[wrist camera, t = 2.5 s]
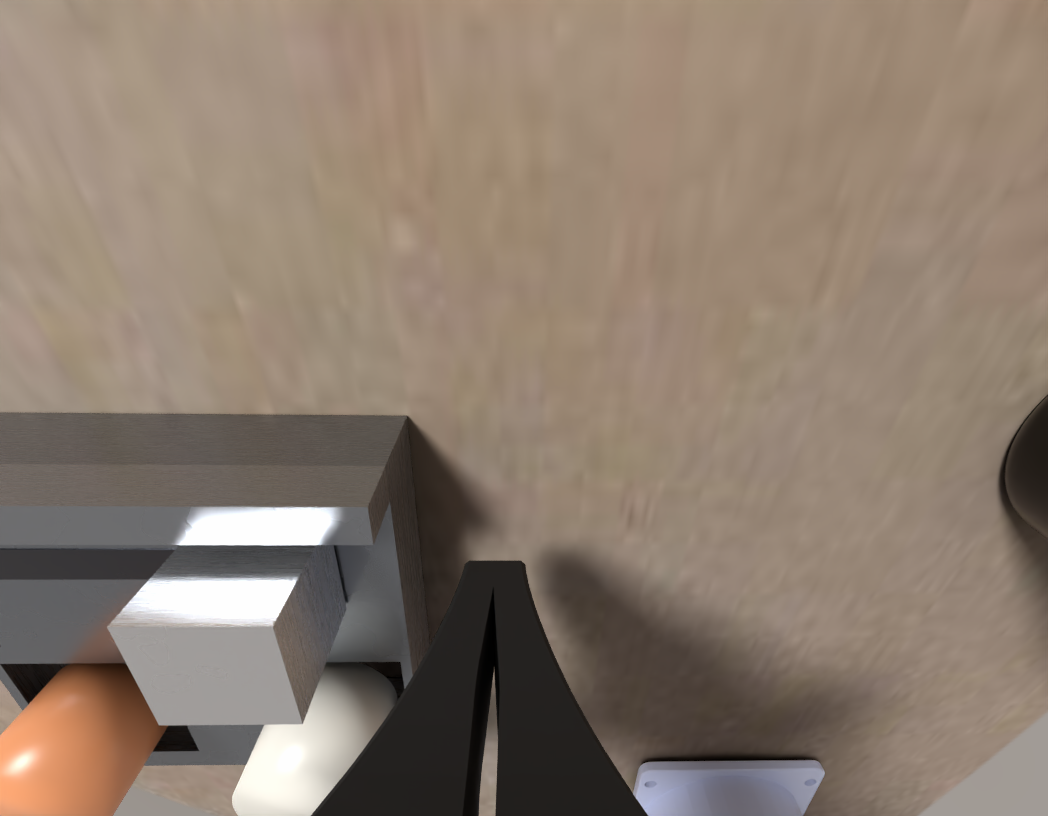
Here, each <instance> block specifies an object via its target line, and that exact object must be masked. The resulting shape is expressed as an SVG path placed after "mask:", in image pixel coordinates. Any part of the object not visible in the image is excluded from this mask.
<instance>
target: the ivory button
mask: <svg viewBox="0 0 1048 816" xmlns="http://www.w3.org/2000/svg"><path fill="white" fill-rule="evenodd" d="M396 702H397V693H396V690H395V688H394V686H393V685H392V683H391V682H390V681H389V680H388V679H387V678H386V677H385V676H384V675H383V674H381V673H380V672H378V671H377V670H375V669H373V668H371V667H369V666H366V665H364V664H361V663H358V662H326V664H325V667H324V670H323V672H322V675H321V678H320V680H319V683H318V685H317V688H316V691H315V693H314V696H313V699H312V701H311V704H310V707H309V709H308V712H307V714H306V717H305V720H304V722H303V724H279V725H264V726H263V729H262V731H261V733H260V735H259V738H258V740H257V742H256V744H255V747H254V749H253V751H252V753H251V755H250V758H249V760H248V762H247V764H246V767H245V769H244V771H243V773H242V776H241V778H240V780H239V782H238V784H237V787H236V789H235V791H234V793H233V797H232V804H233V807H234V810H235V811H236V813H237V814H238V815H239V816H311V815H312V813H313V812H314V811H315V810H316V809H317V807H318V806H319V805H320V804H321V802H322V801H323V800H324V799H325V798H326V796H327V795H328V794H329V793H330V791H331V790H332V789H333V788H334V786H335V785H336V784H337V783H338V782H339V780H340V779H341V778H342V777H343V775H344V774H345V773H346V772H347V770H348V769H349V768H350V767H351V765H352V764H353V763H354V761H355V760H356V759H357V757H358V756H359V755H360V753H361V752H362V751H363V749H364V748H365V747H366V745H367V744H368V742H369V741H370V740H371V738H372V737H373V735H374V734H375V733H376V731H377V730H378V728H379V727H380V726H381V724H382V723H383V721H384V720H385V719H386V717H387V716H388V714H389V713H390V711H391V710H392V708H393V707H394V705H395V704H396Z"/></svg>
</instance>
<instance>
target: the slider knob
mask: <svg viewBox="0 0 1048 816" xmlns="http://www.w3.org/2000/svg"><path fill="white" fill-rule="evenodd" d="M345 612H346V604H345V599H344V594H343V589H342V584H341V579H340V574H339V570H338V565H337V560H336V555H335V550H334V545H179V546H178V547H177V549H176V550H175V551H174V552H173V553H172V554H171V555H170V557H169V558H168V559H167V560H166V561H165V562H164V563H163V564H162V566H161V567H160V568H159V569H158V570H157V571H156V572H155V573H154V575H153V576H152V577H151V578H150V579H149V580H148V581H147V582H146V584H145V585H144V586H143V587H142V588H141V589H140V590H139V591H138V593H137V594H136V595H135V596H134V597H133V598H132V599H131V601H130V602H129V603H128V604H127V605H126V606H125V607H124V608H123V610H122V611H121V612H120V613H119V614H118V615H117V616H116V617H115V619H114V620H113V621H112V622H111V623H110V624H109V625H108V626H107V628H108V630H109V632H110V634H111V636H112V637H113V639H114V641H115V643H116V645H117V647H118V649H119V651H120V653H121V654H122V656H123V658H124V660H125V662H126V664H127V666H128V668H129V670H130V671H131V673H132V675H133V677H134V679H135V681H136V683H137V685H138V687H139V688H140V690H141V692H142V694H143V696H144V698H145V700H146V702H147V704H148V705H149V707H150V709H151V711H152V713H153V715H154V717H155V719H156V721H157V722H158V724H159V725H279V724H303V722H304V720H305V717H306V714H307V712H308V709H309V707H310V704H311V701H312V699H313V696H314V693H315V691H316V688H317V685H318V683H319V680H320V678H321V675H322V672H323V670H324V667H325V664H326V662H327V659H328V656H329V654H330V651H331V649H332V646H333V643H334V641H335V638H336V635H337V633H338V630H339V627H340V625H341V622H342V620H343V617H344V614H345Z"/></svg>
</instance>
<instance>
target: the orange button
mask: <svg viewBox="0 0 1048 816" xmlns="http://www.w3.org/2000/svg"><path fill="white" fill-rule="evenodd" d="M168 726H169V725H159V724H158V722H157V721H156V719H155V717H154V715H153V713H152V711H151V709H150V707H149V705H148V704H147V702H146V700H145V698H144V696H143V694H142V692H141V690H140V688H139V687H138V685H137V683H136V681H135V679H134V677H133V675H132V673H131V671H130V670H129V668H128V666H127V665H126V664H122V663H72V664H69V665H67V666H65V667H63V668H62V669H61V670H60V671H58V672H57V674H56V675H55V676H54V677H53V678H52V679H51V680H50V681H49V682H48V683H47V685H46V686H45V687H44V688H43V689H42V690H41V691H40V692H39V693H38V695H37V696H36V697H35V698H34V699H33V700H32V701H31V702H30V703H29V704H28V706H27V707H26V708H25V709H24V710H23V711H22V712H21V713H20V714H19V716H18V717H17V718H16V719H15V720H14V721H13V722H12V723H11V724H10V725H9V727H8V728H7V729H6V730H5V731H4V732H3V733H2V734H1V735H0V816H113V814H114V813H115V811H116V810H117V808H118V806H119V805H120V803H121V802H122V800H123V798H124V797H125V795H126V793H127V792H128V790H129V789H130V787H131V785H132V784H133V782H134V781H135V779H136V777H137V776H138V774H139V773H140V771H141V769H142V768H143V766H144V764H145V763H146V761H147V760H148V758H149V756H150V755H151V753H152V752H153V750H154V748H155V747H156V745H157V743H158V742H159V740H160V739H161V737H162V735H163V734H164V732H165V731H166V729H167V727H168Z"/></svg>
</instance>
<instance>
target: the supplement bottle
mask: <svg viewBox="0 0 1048 816" xmlns="http://www.w3.org/2000/svg"><path fill="white" fill-rule="evenodd" d="M1005 486H1006V491H1007V495H1008V498H1009V500H1010V502H1011V504H1012V506H1013V508H1014V509H1015V510H1016V512H1017V513H1018V515H1019V516H1020V517H1021V518H1022V519H1023V520H1024V521H1025V522H1026V523H1028V524H1029V525H1030V526H1031V527H1032V528H1034V529H1035V530H1037V531H1038V532H1039V533H1041V534H1042V535H1043V536H1045V537H1046V538H1047V539H1048V396H1047V397H1046V398H1045V399H1044V400H1043V401H1042V402H1041V403H1040V404H1039V405H1038V406H1037V407H1036V408H1035V410H1034V411H1033V412H1032V413H1031V414H1030V415H1029V417H1028V418H1027V420H1026V421H1025V422H1024V424H1023V425H1022V427H1021V428H1020V430H1019V431H1018V433H1017V435H1016V437H1015V439H1014V441H1013V443H1012V445H1011V447H1010V450H1009V453H1008V456H1007V460H1006V465H1005Z"/></svg>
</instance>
